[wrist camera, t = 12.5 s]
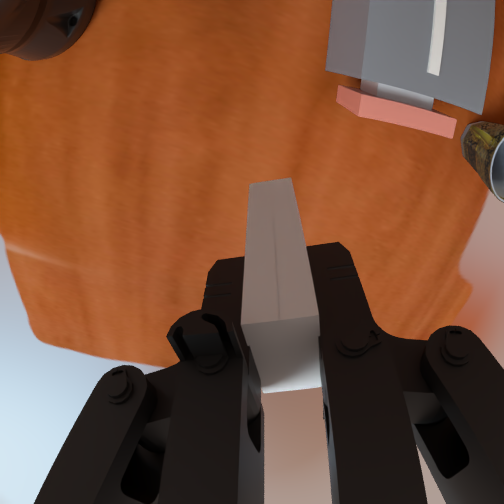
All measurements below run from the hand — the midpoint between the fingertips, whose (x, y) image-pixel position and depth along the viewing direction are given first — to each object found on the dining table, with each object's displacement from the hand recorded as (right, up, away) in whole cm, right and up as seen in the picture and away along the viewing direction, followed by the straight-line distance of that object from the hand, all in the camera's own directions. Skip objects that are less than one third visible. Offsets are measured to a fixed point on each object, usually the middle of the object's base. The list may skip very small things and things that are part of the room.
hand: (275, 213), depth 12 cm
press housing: (+14, +24, +18) cm, 33 cm away
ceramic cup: (+30, +15, +24) cm, 41 cm away
